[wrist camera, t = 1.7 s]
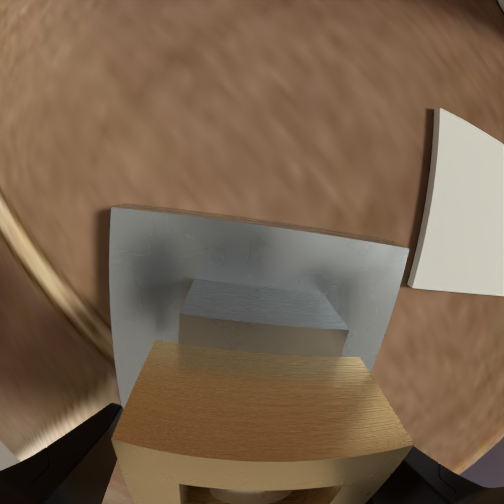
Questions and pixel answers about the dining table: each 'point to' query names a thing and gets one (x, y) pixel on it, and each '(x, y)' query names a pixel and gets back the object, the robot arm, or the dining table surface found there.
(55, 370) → the dining table surface
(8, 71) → the dining table surface
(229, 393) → the brass collar
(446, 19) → the dining table surface
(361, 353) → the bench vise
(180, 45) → the dining table surface
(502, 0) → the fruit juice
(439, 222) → the felt mat
